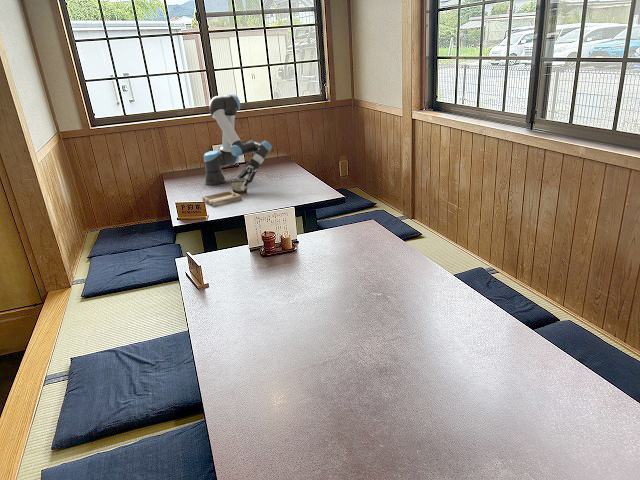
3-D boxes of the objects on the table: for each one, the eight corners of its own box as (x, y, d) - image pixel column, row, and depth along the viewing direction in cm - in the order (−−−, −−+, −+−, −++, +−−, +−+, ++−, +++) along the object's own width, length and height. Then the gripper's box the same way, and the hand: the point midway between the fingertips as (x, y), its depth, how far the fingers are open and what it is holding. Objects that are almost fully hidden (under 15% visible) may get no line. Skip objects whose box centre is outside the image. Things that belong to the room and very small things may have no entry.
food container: (251, 191, 334) (249, 177, 330) (249, 194, 328) (247, 179, 325) (233, 192, 335) (231, 178, 331) (231, 194, 329) (229, 180, 326)
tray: (202, 201, 319) (202, 196, 318) (230, 194, 329) (229, 190, 328) (213, 206, 305) (212, 202, 304) (242, 200, 315) (241, 195, 314)
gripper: (267, 166, 324) (249, 194, 321) (252, 162, 341) (235, 188, 339) (259, 160, 319) (241, 188, 317) (244, 156, 337) (227, 182, 334)
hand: (238, 188), depth 328 cm, fingers closed on food container, 10 cm apart
